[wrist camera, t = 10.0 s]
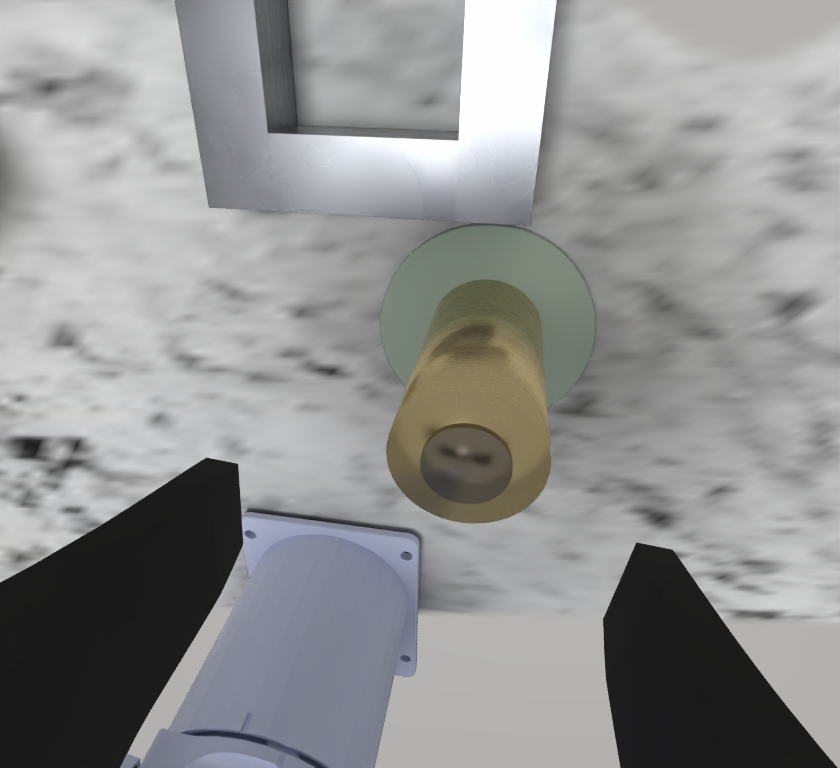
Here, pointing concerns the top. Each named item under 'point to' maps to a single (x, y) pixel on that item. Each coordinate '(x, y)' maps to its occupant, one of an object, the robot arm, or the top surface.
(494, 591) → the top surface
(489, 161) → the housing
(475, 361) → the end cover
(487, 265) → the mat
